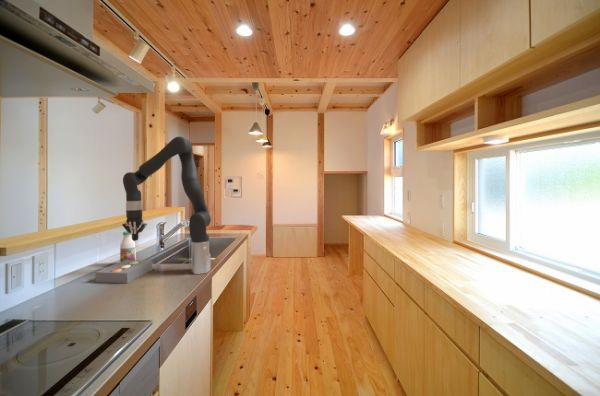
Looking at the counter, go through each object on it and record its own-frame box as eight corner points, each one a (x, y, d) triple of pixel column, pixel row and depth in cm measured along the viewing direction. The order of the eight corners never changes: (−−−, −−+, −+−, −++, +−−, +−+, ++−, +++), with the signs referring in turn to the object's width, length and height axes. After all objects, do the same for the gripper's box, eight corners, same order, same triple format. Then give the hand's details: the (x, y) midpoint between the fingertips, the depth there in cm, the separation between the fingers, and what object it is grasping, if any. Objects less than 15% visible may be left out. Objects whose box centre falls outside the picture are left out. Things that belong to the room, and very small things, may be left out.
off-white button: (132, 272, 144) (132, 264, 144) (127, 275, 140) (127, 267, 140) (124, 271, 145) (124, 264, 144) (119, 274, 140) (118, 267, 140)
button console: (152, 269, 152) (152, 260, 152) (127, 283, 132) (127, 273, 131) (125, 268, 153) (124, 260, 153) (95, 282, 132) (95, 272, 132)
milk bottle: (121, 263, 162) (121, 230, 161) (136, 262, 165) (136, 230, 164) (119, 267, 155) (118, 233, 154) (134, 266, 158) (134, 232, 157)
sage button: (140, 268, 151) (140, 261, 151) (135, 270, 146) (135, 263, 146) (132, 268, 151) (132, 261, 151) (127, 270, 147) (127, 263, 146)
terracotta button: (124, 276, 138) (124, 268, 138) (118, 279, 133) (118, 271, 133) (116, 276, 138) (116, 268, 138) (109, 279, 134) (109, 271, 133)
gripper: (150, 208, 151) (150, 239, 152) (127, 208, 151) (128, 238, 152) (141, 209, 143) (142, 242, 144) (117, 209, 144) (118, 241, 145)
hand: (135, 240), depth 148 cm, fingers closed
